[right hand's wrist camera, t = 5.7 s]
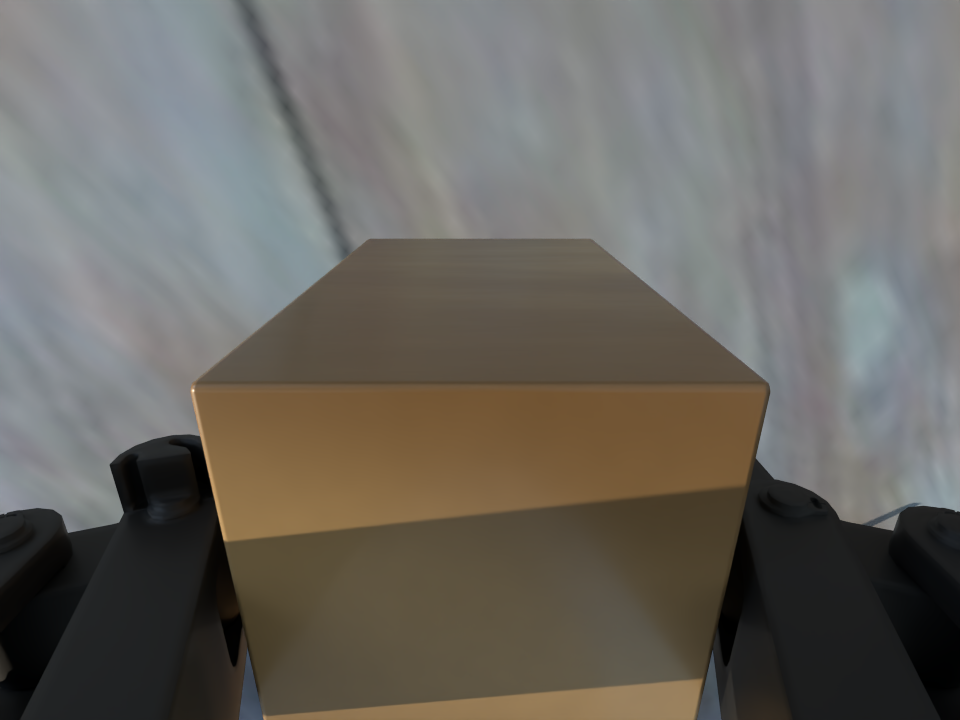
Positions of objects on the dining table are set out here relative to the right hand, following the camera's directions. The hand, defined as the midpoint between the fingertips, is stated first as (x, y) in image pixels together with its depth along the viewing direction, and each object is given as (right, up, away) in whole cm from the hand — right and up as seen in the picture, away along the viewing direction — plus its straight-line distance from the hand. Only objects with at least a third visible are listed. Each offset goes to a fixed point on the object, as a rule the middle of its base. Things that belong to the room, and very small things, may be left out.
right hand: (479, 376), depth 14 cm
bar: (0, -8, +4) cm, 9 cm away
